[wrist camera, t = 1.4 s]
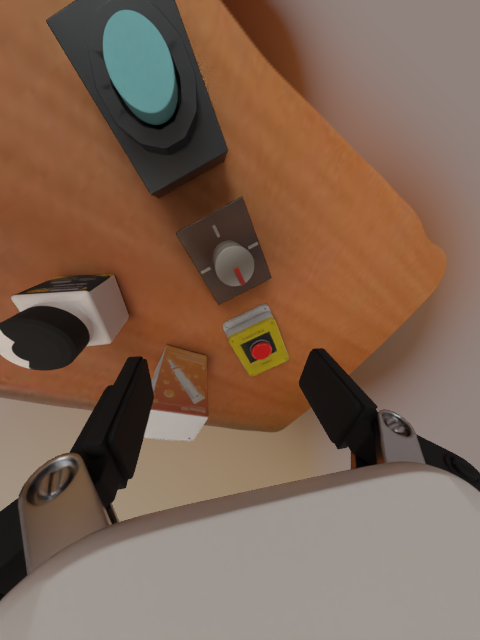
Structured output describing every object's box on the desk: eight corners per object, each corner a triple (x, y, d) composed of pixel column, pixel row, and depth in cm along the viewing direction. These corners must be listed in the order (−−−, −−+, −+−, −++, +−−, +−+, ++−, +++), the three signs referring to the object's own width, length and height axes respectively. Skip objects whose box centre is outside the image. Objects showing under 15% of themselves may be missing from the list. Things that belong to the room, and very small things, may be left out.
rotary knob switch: (178, 231, 24) (175, 233, 21) (237, 198, 23) (242, 196, 20) (217, 297, 30) (218, 305, 27) (265, 272, 29) (272, 278, 26)
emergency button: (275, 313, 28) (295, 370, 36) (266, 302, 32) (287, 355, 40) (223, 338, 29) (254, 388, 37) (220, 323, 32) (249, 372, 40)
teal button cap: (100, 56, 13) (84, 31, 11) (153, 22, 12) (145, -9, 11) (143, 136, 15) (135, 125, 13) (188, 109, 15) (187, 94, 13)
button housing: (78, 61, 16) (20, -12, 11) (165, 5, 15) (147, -101, 10) (158, 198, 22) (145, 192, 17) (223, 161, 21) (231, 143, 16)
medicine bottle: (114, 273, 25) (54, 313, 15) (130, 317, 28) (91, 373, 18) (56, 276, 24) (-53, 321, 14) (80, 321, 27) (9, 384, 17)
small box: (207, 354, 35) (210, 417, 24) (195, 376, 38) (192, 443, 27) (165, 343, 32) (147, 409, 21) (155, 367, 34) (134, 439, 23)
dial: (206, 250, 23) (207, 258, 18) (236, 233, 22) (245, 238, 18) (222, 279, 25) (226, 293, 21) (249, 265, 25) (260, 276, 20)
